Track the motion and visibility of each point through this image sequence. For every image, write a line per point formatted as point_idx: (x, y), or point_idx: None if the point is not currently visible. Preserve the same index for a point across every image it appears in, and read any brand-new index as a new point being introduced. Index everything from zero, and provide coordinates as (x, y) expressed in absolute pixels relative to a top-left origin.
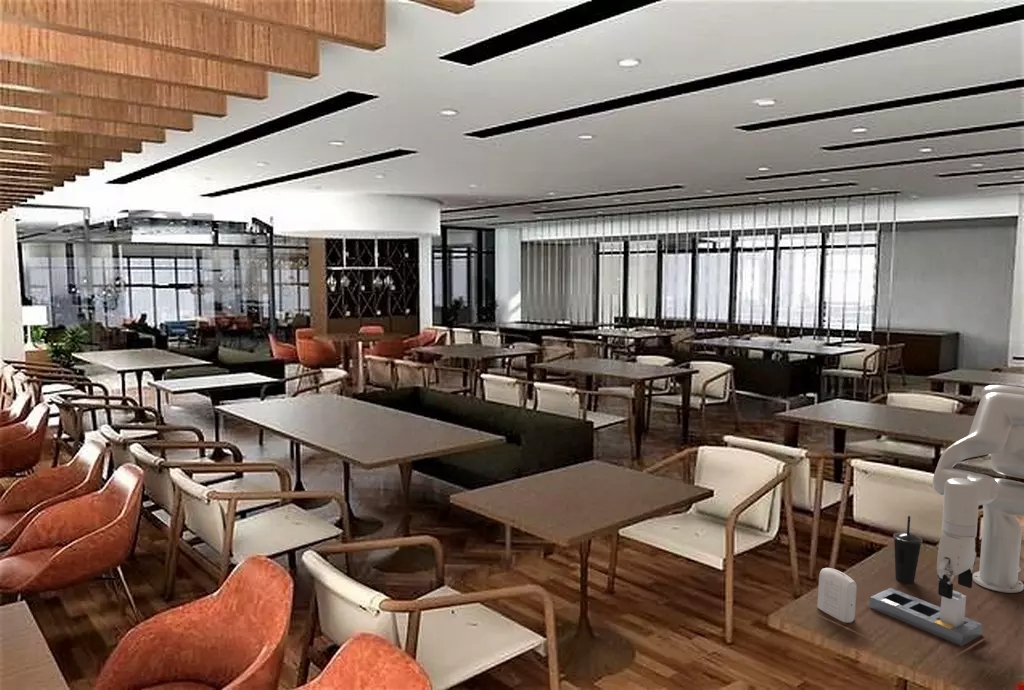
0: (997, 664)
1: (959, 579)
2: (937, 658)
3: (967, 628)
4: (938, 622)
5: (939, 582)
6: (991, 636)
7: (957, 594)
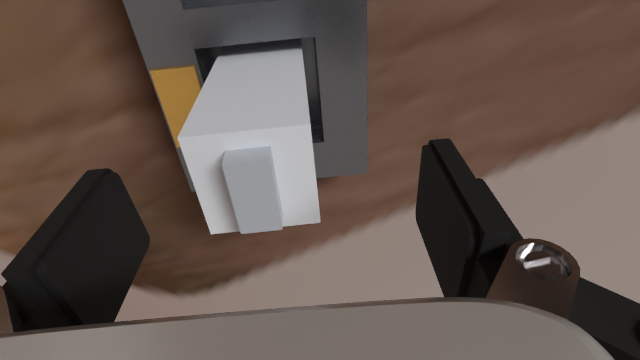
0: (222, 250)
1: (434, 176)
2: (40, 165)
3: None
4: (168, 86)
5: (24, 255)
6: (388, 157)
7: (241, 225)
